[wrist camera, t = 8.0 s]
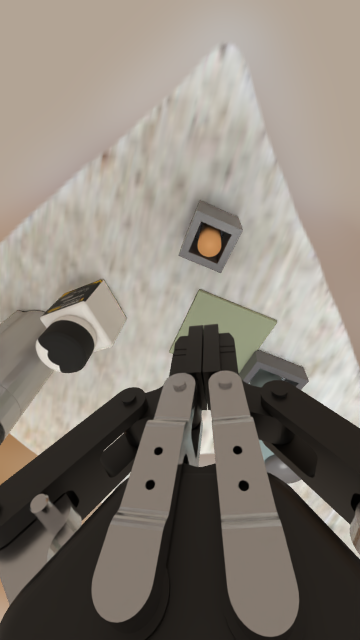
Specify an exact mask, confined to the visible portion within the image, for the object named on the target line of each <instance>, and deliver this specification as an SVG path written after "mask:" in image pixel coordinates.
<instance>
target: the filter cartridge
mask: <svg viewBox="0 0 360 640" xmlns="http://www.w3.org/2000/svg"><path fill="white" fill-rule="evenodd" d="M272 380H282V381H283V379H282V377H281V376H279V375H276V374H273V373H271V372H268V371H265V370H263V369H259V370H258V372H257V373H256V374H255V376H254V377H253V378H252V379H251V381H250V385H253V386H257V387H262V386H263V385H264V384H265V383H267V382H269V381H272ZM259 443H260V447H261V451H262V455H263V459H264V463H265V467H266V471H267V472H268V473H271V474H273V475H274V476H276V477H278V478H279V479H281V480H282V481H284V482H285V483H286V484H287V483H294V482H297V481H299V480H301V478H300V477H298V476H297V475H296V474H295V473H294V472H293V471H292V470H291V469H290V468H289V467H288V466H287V465H286V464H284V463H283V462H282V461H281V460H280V459H279V458H278V457H277V456H276V455H275V454H274V453H273V452H272V451H270V450H269V449H268V448H267V447H266V446H265V445H264V443H263V442H262V440H259Z"/></svg>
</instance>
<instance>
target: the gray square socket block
mask: <svg viewBox="0 0 360 640" xmlns="http://www.w3.org/2000/svg"><path fill="white" fill-rule="evenodd" d="M201 222H204V223H206V224H208V225H211V226H213V227H215V228H218V229H220V230H222V231H224V234H223V236H222V238H221V249H220V251H219V253H218V254H217V255H215V256H213V257H206V256H203V255H202V254H201V253H200V252H199V250H198V240H199V239H197V238H195V235H196V232H197V230H198V227H199V225H200V223H201ZM242 231H243V230H242V227H241V223H240V220H239V217H237V216H234V215H232V214H230V213H228V212H225V211H223V210H221V209H219V208H216V207H214V206H212V205H210V204H207V203H205V202H203V201H201V200H200V201H199V203H198V206H197V208H196V211H195V213H194V216H193V218H192V221H191V223H190V226H189V228H188V231H187V233H186V236H185V238H184V241H183V244H182V247H181V250H180V253H179V256H181V257H183V258H186V259H188V260H190V261H193V262H195V263H198V264H200V265H202V266H205V267H207V268H210V269H212V270H214V271H217V272H219V273H221V272H222V270H223V268H224V266H225V264H226V262H227V260H228V258H229V256H230V254H231V252H232V250H233V249H234V247H235V245H236V243H237V241H238V239H239V237H240V235H241V233H242Z"/></svg>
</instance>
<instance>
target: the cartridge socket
mask: <svg viewBox="0 0 360 640" xmlns="http://www.w3.org/2000/svg"><path fill="white" fill-rule="evenodd" d="M259 369H263V370H265V371H268V372H271V373H273V374H276V375H279V376H281V377H284V378H286V380H285V381H286V382H288V383H290V384H292V385H294V386H295V387H297V388H298V389H300V390H301V389H302V388H303V387H304V386H305V385H306V384H307V383H308V382H309V380H308V378H307V375H306V373H305V370H304V368H303V367H301V366H298V365H296V364H293V363H291V362H288V361H285V360H283V359H280V358H278V357H275V356H273V355H270V354H267V353H265V352H262V351H260V350H257V351H255V352H254V353H253V354H252V356H251V357H250V359H249V360H248V361H247V363H246V364H245V366H244V367H243V369H242V370H241V371H240V373H239V376H240V378H241V379H242V380H243V381H244V382H246V383H249V382H250V381H251V379H252V378H253V377H254V376H255V374H256V373H257V372H258V370H259Z"/></svg>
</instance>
